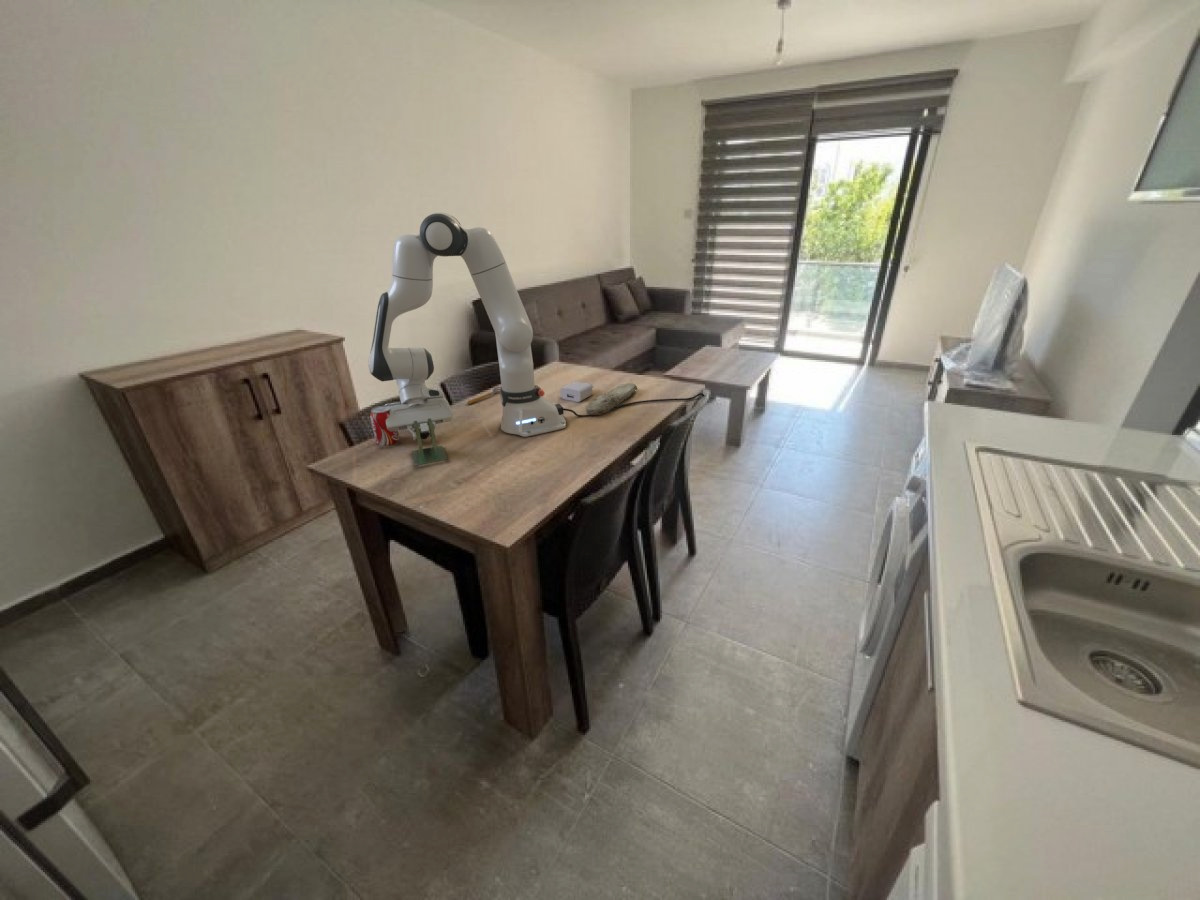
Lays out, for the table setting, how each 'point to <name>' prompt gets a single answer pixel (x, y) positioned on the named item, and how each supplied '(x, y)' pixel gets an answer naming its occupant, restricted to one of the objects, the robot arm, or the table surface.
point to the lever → (424, 430)
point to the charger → (576, 391)
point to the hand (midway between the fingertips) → (424, 437)
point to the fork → (484, 396)
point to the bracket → (430, 453)
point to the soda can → (382, 427)
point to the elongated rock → (610, 399)
